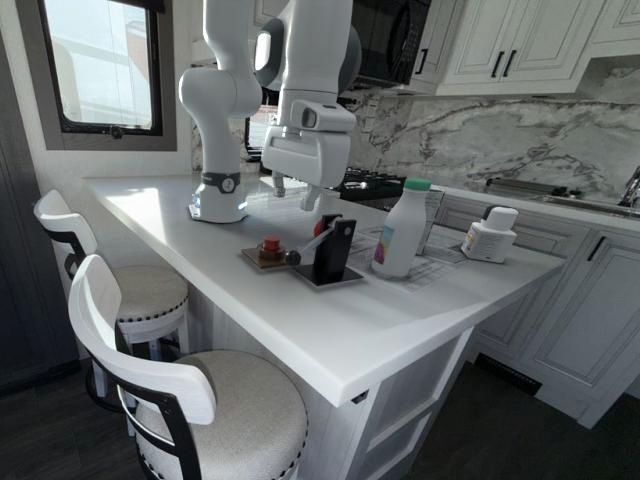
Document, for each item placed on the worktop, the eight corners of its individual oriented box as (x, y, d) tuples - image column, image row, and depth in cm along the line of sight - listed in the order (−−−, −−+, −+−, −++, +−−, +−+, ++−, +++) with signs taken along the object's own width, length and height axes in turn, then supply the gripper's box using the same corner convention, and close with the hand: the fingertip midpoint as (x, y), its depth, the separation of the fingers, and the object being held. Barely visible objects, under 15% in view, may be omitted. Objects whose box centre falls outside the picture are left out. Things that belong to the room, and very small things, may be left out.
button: (260, 246, 70) (261, 236, 69) (273, 245, 72) (274, 234, 70) (267, 252, 68) (268, 241, 66) (281, 250, 69) (283, 239, 68)
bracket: (316, 290, 60) (329, 226, 53) (291, 271, 67) (300, 213, 60) (362, 281, 64) (380, 222, 58) (335, 264, 71) (347, 209, 65)
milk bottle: (409, 272, 70) (443, 180, 60) (403, 284, 64) (440, 184, 54) (374, 263, 74) (401, 174, 63) (366, 273, 68) (394, 178, 58)
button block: (241, 255, 73) (241, 241, 71) (277, 251, 77) (278, 238, 75) (260, 273, 65) (261, 258, 64) (299, 267, 69) (301, 252, 67)
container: (460, 248, 86) (481, 201, 79) (491, 253, 84) (516, 205, 77) (467, 258, 80) (491, 208, 73) (502, 263, 78) (529, 212, 71)
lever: (293, 272, 59) (288, 260, 57) (284, 265, 61) (279, 253, 59) (350, 231, 60) (347, 218, 58) (339, 226, 62) (336, 213, 60)
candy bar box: (392, 239, 90) (411, 180, 81) (410, 241, 89) (431, 182, 81) (402, 253, 80) (424, 188, 72) (422, 255, 80) (447, 190, 71)
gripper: (258, 111, 55) (251, 190, 63) (328, 116, 40) (309, 220, 47) (287, 114, 58) (278, 189, 65) (365, 119, 42) (341, 218, 49)
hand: (291, 203), depth 56 cm, fingers open, 8 cm apart
